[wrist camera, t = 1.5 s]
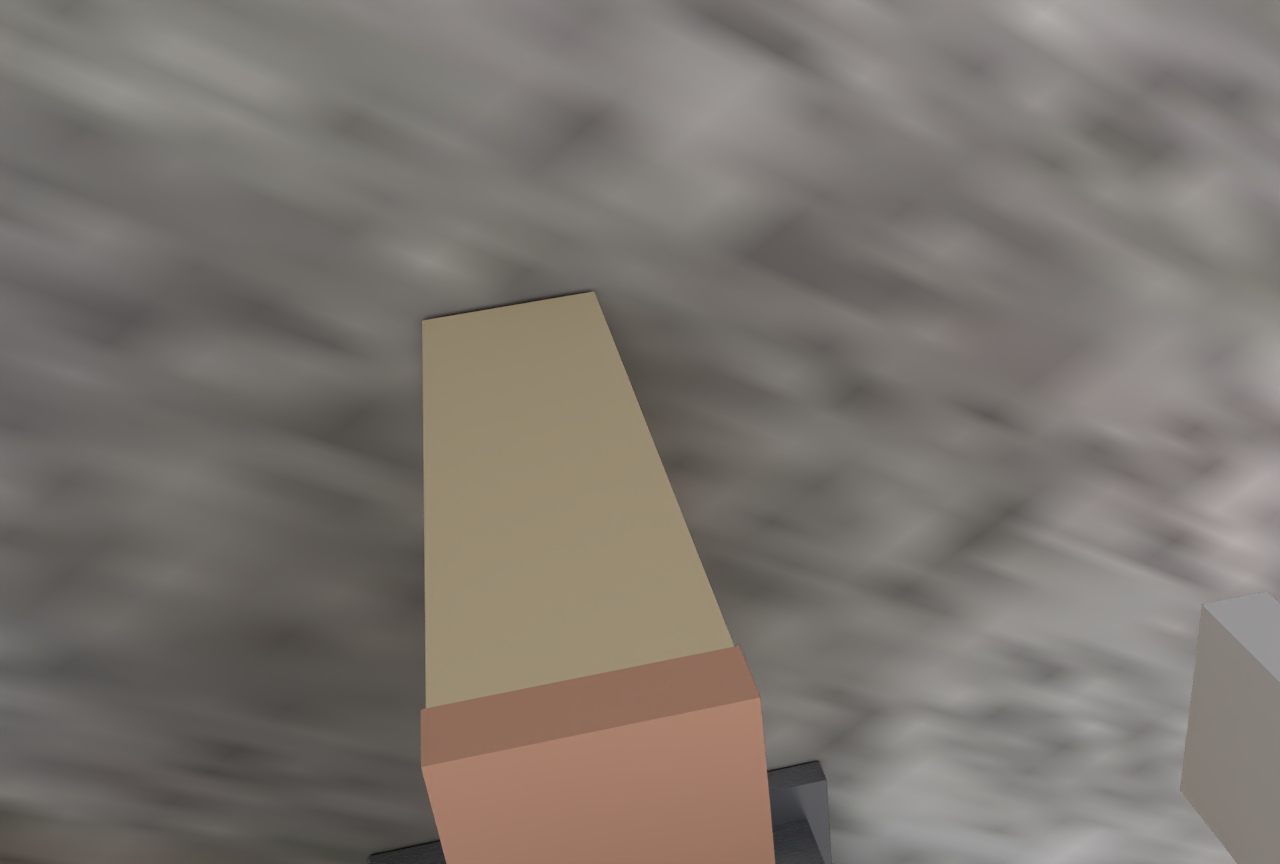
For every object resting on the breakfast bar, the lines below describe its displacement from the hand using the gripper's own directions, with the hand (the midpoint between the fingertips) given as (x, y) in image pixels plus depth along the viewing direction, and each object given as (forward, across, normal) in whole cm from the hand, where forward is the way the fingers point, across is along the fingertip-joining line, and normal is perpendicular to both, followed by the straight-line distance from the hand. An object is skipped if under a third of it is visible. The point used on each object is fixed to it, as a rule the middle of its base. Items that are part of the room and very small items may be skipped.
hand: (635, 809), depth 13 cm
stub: (+10, 0, -2) cm, 10 cm away
